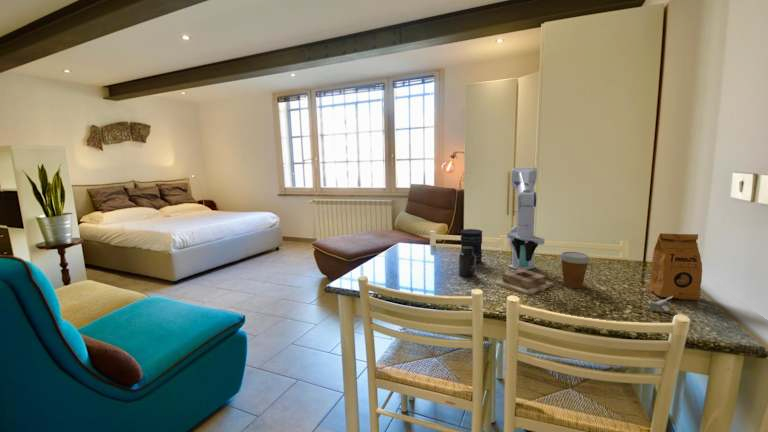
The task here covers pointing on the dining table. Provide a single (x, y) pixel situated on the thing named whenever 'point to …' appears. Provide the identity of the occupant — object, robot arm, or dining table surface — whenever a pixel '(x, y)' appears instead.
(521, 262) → the peg
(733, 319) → the dining table surface
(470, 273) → the supplement bottle
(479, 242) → the storage jar
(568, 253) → the disposable coffee cup
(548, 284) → the socket board
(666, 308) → the dog figurine
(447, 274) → the dining table surface
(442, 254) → the dining table surface
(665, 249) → the coffee package
